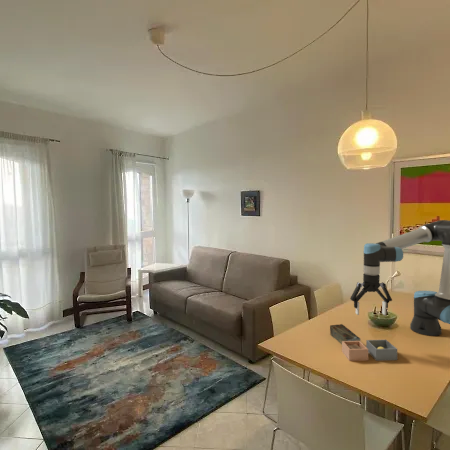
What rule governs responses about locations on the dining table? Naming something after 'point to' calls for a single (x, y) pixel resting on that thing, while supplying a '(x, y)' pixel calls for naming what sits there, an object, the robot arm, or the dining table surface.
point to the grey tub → (381, 350)
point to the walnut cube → (354, 346)
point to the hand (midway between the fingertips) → (370, 314)
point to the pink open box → (355, 351)
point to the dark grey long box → (342, 333)
